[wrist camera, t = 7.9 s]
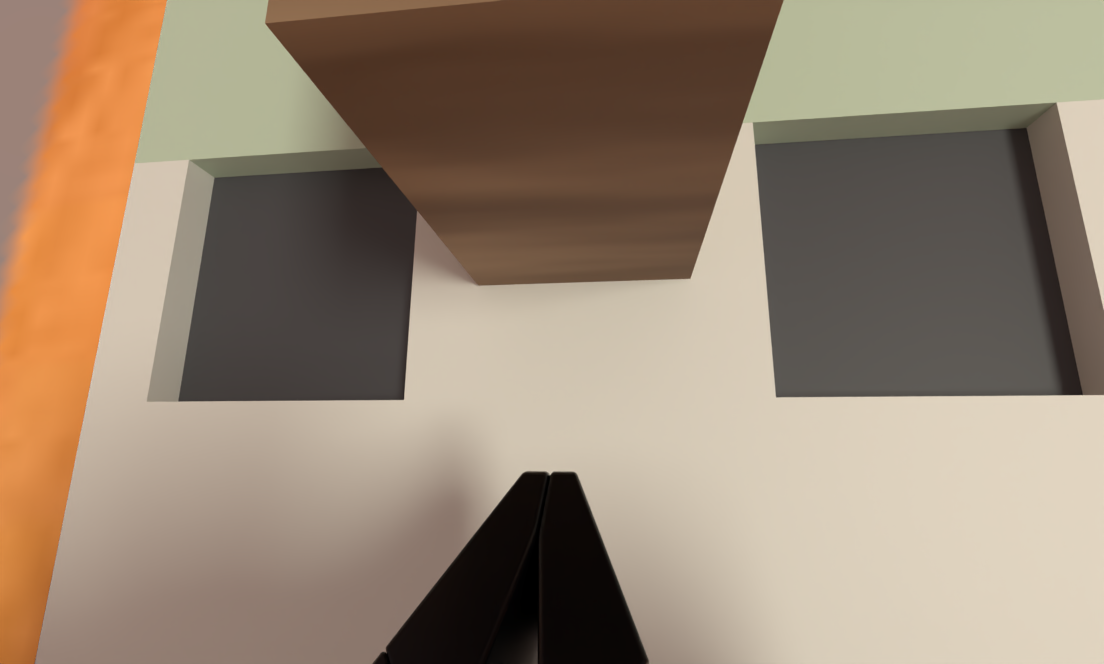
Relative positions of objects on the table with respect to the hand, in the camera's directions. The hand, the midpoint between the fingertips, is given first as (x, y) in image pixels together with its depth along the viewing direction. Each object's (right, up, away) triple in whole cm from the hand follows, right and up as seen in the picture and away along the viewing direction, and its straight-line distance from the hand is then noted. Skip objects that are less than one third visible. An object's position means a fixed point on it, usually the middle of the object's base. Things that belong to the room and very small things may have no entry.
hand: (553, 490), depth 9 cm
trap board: (+1, +5, +9) cm, 10 cm away
